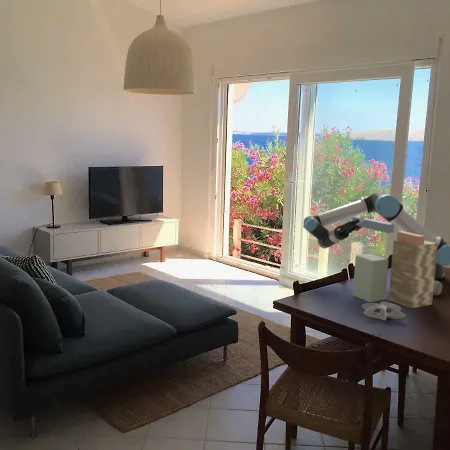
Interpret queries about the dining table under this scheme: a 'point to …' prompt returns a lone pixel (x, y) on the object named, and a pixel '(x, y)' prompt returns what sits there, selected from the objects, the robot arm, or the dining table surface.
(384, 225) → the slate bar
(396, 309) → the sculpture
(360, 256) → the pale green pillar
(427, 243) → the birch stand
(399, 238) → the terracotta bar
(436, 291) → the ceramic mug
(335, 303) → the dining table surface
